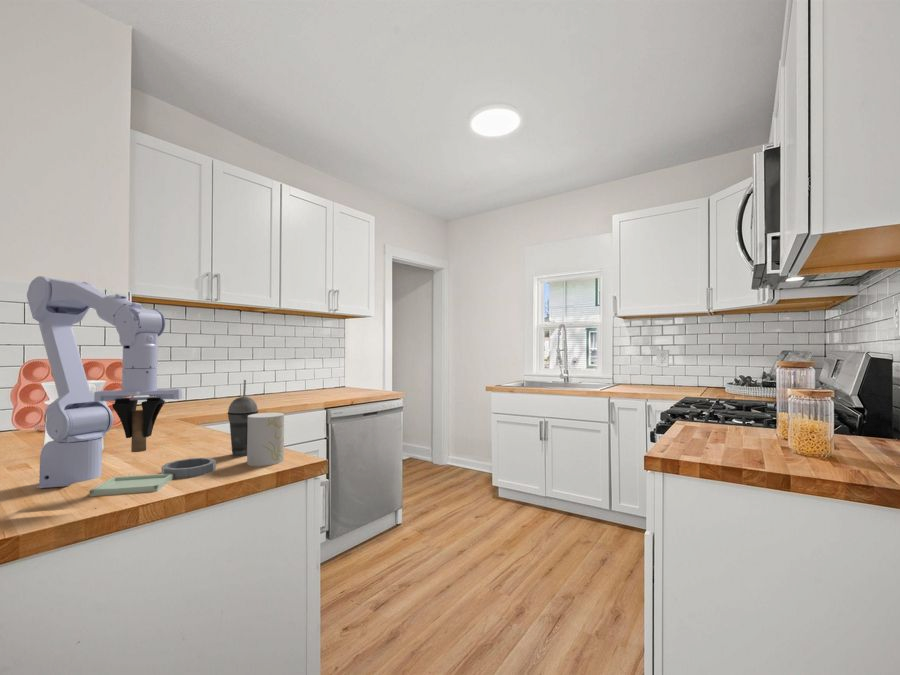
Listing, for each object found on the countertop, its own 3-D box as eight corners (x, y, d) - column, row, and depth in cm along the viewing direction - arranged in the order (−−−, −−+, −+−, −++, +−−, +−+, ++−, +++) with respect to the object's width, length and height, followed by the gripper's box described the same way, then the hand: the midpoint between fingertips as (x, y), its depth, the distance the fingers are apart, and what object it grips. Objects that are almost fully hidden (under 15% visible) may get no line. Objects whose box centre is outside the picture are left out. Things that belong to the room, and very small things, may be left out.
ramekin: (154, 483, 90) (154, 470, 90) (171, 471, 100) (172, 459, 100) (207, 479, 93) (208, 467, 93) (219, 467, 103) (220, 456, 103)
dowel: (128, 452, 85) (129, 411, 86) (135, 449, 88) (136, 409, 88) (142, 451, 86) (143, 411, 86) (148, 449, 88) (149, 409, 88)
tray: (89, 500, 80) (89, 490, 80) (113, 485, 89) (113, 477, 89) (157, 495, 83) (157, 485, 83) (174, 481, 92) (174, 472, 92)
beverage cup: (252, 452, 118) (253, 378, 119) (262, 457, 113) (262, 379, 113) (223, 457, 113) (224, 379, 114) (231, 462, 108) (232, 381, 108)
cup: (270, 470, 100) (271, 417, 101) (239, 468, 102) (240, 416, 102) (290, 461, 108) (290, 413, 109) (261, 460, 110) (261, 412, 110)
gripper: (86, 369, 82) (84, 442, 81) (174, 368, 85) (172, 438, 85) (105, 368, 88) (103, 435, 88) (185, 367, 92) (184, 432, 92)
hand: (138, 436), depth 87 cm, fingers closed on dowel, 2 cm apart
